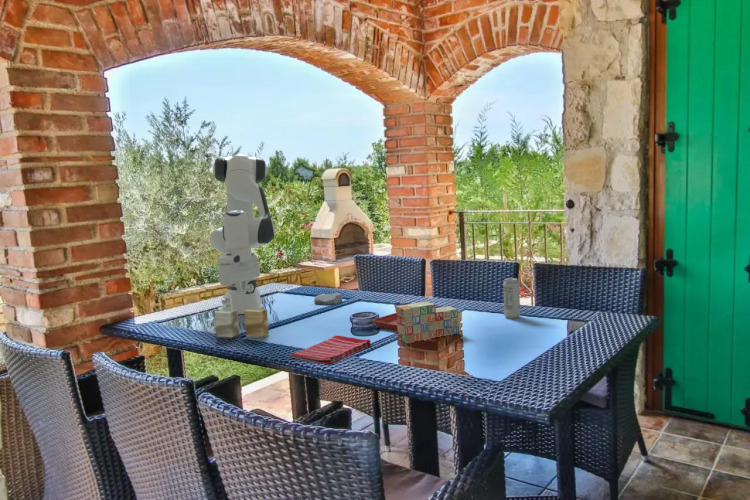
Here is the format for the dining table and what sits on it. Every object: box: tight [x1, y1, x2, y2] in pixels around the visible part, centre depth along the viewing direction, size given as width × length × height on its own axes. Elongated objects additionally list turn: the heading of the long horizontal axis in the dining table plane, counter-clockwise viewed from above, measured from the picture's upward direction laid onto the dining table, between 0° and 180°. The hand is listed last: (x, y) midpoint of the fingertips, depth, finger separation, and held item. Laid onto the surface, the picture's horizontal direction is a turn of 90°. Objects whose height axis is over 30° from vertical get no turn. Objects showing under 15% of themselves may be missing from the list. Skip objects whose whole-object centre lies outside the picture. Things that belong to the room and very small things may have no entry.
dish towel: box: [289, 335, 372, 365], centre depth 202 cm, size 17×24×3 cm
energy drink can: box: [502, 277, 521, 320], centre depth 234 cm, size 6×6×15 cm
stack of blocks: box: [395, 301, 460, 344], centre depth 213 cm, size 21×6×12 cm, turn 114°
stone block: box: [313, 292, 343, 305], centre depth 283 cm, size 12×5×10 cm
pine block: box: [214, 310, 240, 340], centre depth 228 cm, size 4×7×10 cm, turn 67°
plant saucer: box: [371, 312, 398, 332], centre depth 231 cm, size 18×18×3 cm
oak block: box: [244, 308, 270, 339], centre depth 227 cm, size 4×7×10 cm, turn 67°
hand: (242, 293), depth 218 cm, fingers closed
